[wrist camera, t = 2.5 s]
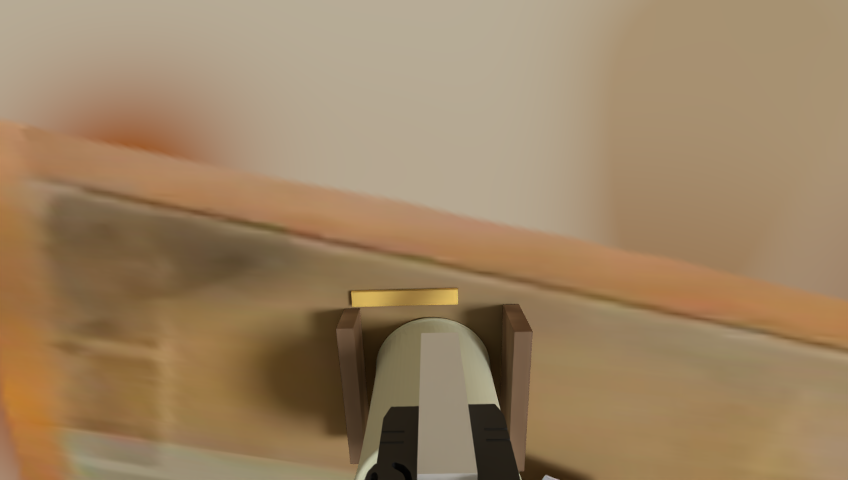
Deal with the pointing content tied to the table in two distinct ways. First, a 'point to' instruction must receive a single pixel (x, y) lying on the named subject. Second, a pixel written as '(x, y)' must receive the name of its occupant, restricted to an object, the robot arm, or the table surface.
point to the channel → (514, 320)
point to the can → (402, 377)
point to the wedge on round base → (548, 478)
